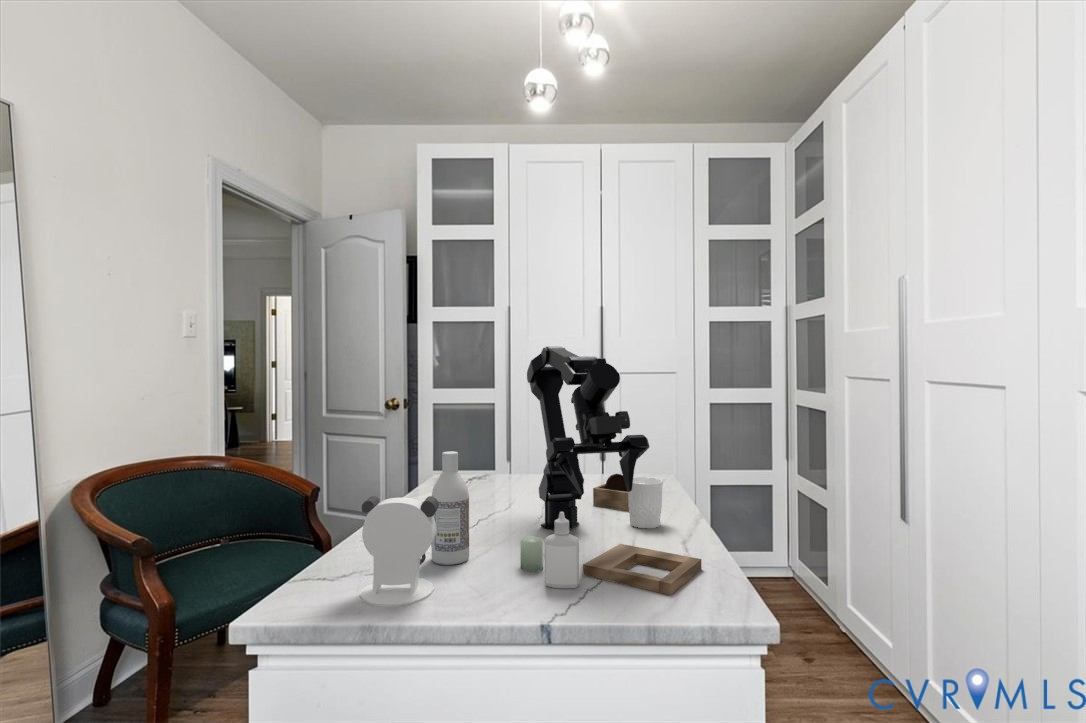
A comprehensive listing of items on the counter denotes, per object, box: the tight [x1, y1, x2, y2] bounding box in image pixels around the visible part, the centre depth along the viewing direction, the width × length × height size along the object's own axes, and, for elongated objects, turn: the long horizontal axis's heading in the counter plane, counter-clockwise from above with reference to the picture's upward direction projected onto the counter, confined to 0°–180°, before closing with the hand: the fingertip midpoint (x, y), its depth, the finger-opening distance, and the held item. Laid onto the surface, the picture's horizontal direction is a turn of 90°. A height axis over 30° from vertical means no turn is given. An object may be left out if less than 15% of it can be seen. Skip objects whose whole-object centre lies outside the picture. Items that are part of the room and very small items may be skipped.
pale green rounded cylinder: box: [519, 536, 544, 573], centre depth 107 cm, size 4×4×5 cm
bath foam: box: [430, 450, 470, 566], centre depth 111 cm, size 7×7×20 cm
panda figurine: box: [360, 495, 439, 608], centre depth 95 cm, size 12×11×15 cm
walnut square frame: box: [582, 543, 702, 596], centre depth 104 cm, size 16×14×2 cm
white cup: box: [628, 476, 663, 529], centre depth 134 cm, size 8×8×10 cm
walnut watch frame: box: [592, 483, 629, 512], centre depth 153 cm, size 11×11×4 cm
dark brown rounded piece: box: [605, 473, 627, 492], centre depth 153 cm, size 8×8×7 cm
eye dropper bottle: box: [544, 512, 580, 590], centre depth 98 cm, size 4×6×12 cm
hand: (606, 492), depth 107 cm, fingers open, 9 cm apart
